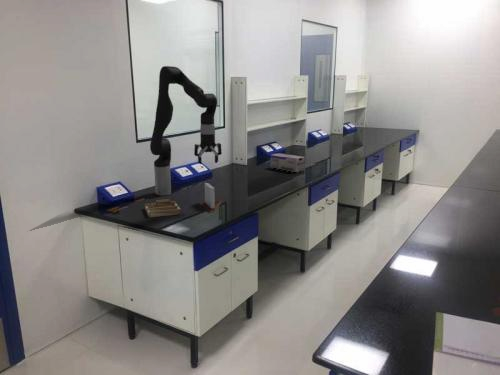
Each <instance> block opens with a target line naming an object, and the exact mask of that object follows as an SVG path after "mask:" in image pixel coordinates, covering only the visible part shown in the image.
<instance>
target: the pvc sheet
mask: <svg viewBox="0 0 500 375" xmlns="http://www.w3.org/2000/svg"><path fill="white" fill-rule="evenodd" d="M215 198H216V197H215V187H214V186H213V185H211V184H210V183H207V182H205V183H204V201H205V203H206V204H207V205H208V206H209V207H210V208H211V209H212V208H215V200H216V199H215Z"/></svg>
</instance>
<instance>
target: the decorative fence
mask: <svg viewBox="0 0 500 375" xmlns="http://www.w3.org/2000/svg"><path fill="white" fill-rule="evenodd" d="M139 201H140V202H141V201H149V199H145V198H140V199H138V200H136V202H139ZM119 208H120V206H116V207H113V208H109V209H106V211H107V212H108V213H112V214H113V213H114V214H120V210H119Z"/></svg>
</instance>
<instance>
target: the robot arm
mask: <svg viewBox="0 0 500 375" xmlns="http://www.w3.org/2000/svg"><path fill="white" fill-rule="evenodd" d="M158 76H159V77H158V78H159V79H158V95H157V96H158V97H157V104H156V108H155V109H156V111H155V119H154V125H153V131H152V135H151V140H150V144H149V145H150V146H149V147H150V148H149V149H150V150H149V151H150V153H151V154H152V155H153V156H158V157H157V159H155V160H154V161H153V166H154V168H153V169H154V188H155V195H157V196H168V195H171V194H172V183H171V182H172V180H171V160H172V144H171V141H170V140H169V138H165V137H164V133H165V132H166V129H167V128H168V127H169V124H171V122H172V119H173V113H174V105H173V103H172V100H171V96H170V95H169V94H170V93H169V87H170V84H171V85H172V84H173V85H175V84H177V85H179V86H181V87H182V88H183V91H184V93H185V94H186V95H187V96H188V97H190V98H191V99H192V100H193V101H194V102H195V104H196V105H197V106H198V107H199V108H202V109H206V110H205V111H203V112H202V113H201V114H200V128H199V130H200V143H199V144H197V143H195V144H194V150H193V151H194V152H193V153H194V155H193V156H195V157H197V163H198V164H199V165H202V156H203V154H204V153H213V154H214V163H215V164H218V162H219V156H220V155H222V144H221V143H220V142H217V143H216V128H215V126H216V125H215V115H216V110H217V107H218V106H217V105H218V99H217V98H218V97H217V96H216V95H215V94H214V93H205V92H204V89H203V88H202V87H200V86H199V85H198V84H197V83H194V82H193V81H192V80H191V79H190V78H189V77H188V76H187V75H186V74H185V73H184V72H183V71H182V69H180V68H179V67H178V66H170V65H164V66H162V67H161V68H160V71H159V75H158ZM215 148H217V150H216V149H215ZM199 149H200V150H199Z"/></svg>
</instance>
